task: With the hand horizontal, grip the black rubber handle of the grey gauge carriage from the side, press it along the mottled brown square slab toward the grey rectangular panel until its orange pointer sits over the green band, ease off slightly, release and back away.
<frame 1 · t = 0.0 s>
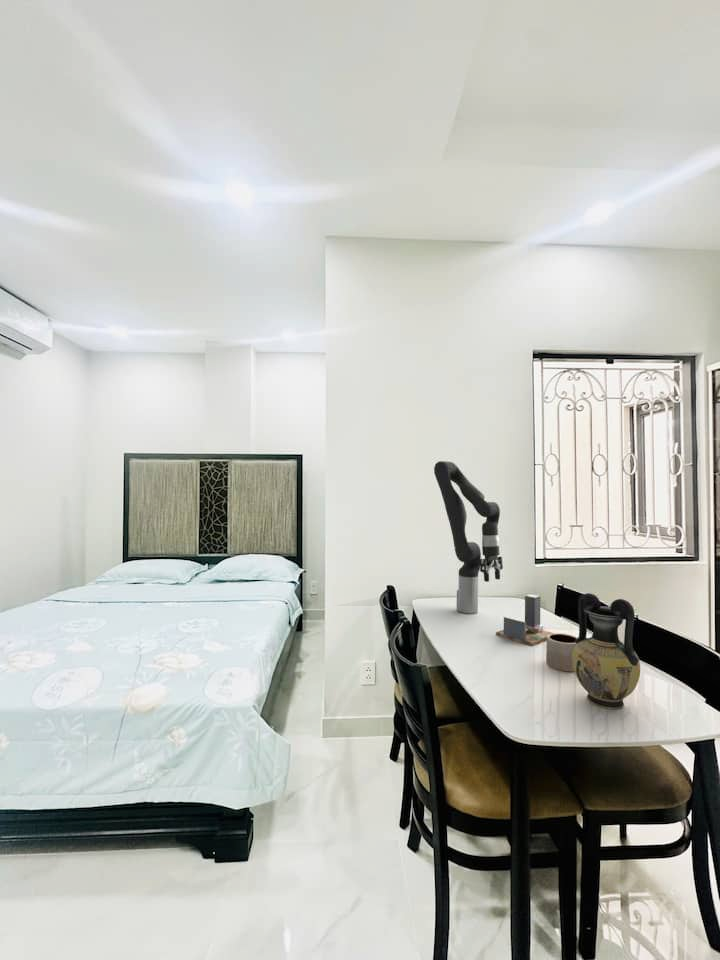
hand: (492, 580, 214), 17 cm above the table, tool pointing down, fingers open, 8 cm apart
grey rectangular panel: (514, 640, 183), resting on mottled brown square slab
planter: (563, 667, 157), on the table
mottled brown square slab: (525, 635, 188), on the table
amphora: (604, 702, 131), on the table
gauge carriage: (530, 614, 189), point 8 cm above the table, slide at 0.0 cm
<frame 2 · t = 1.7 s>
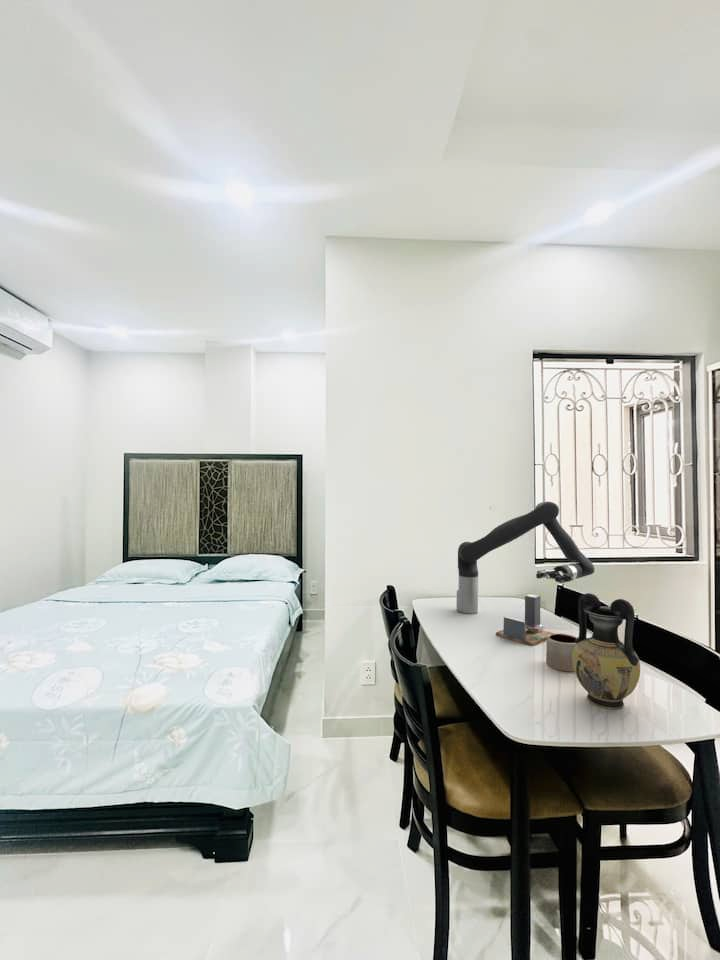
hand: (546, 577, 198), 22 cm above the table, tool horizontal, fingers open, 8 cm apart
nothing on the table moved.
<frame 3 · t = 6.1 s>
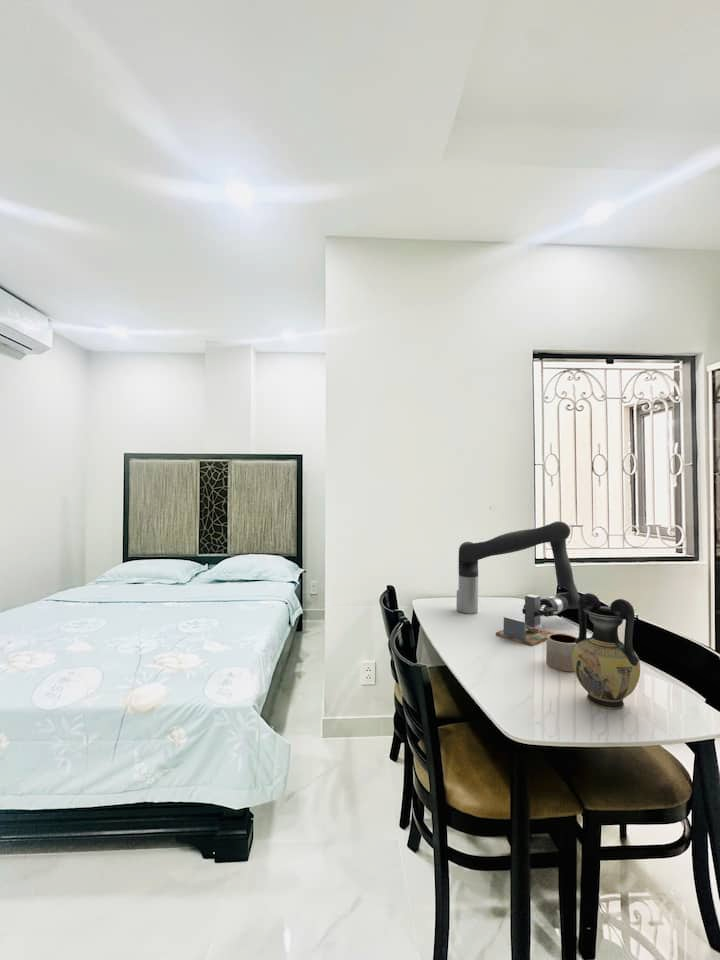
hand: (529, 612, 190), 9 cm above the table, tool horizontal, fingers closed on gauge carriage, 4 cm apart
gauge carriage: (530, 614, 189), point 8 cm above the table, slide at 0.0 cm, touching gripper
everything else where it was.
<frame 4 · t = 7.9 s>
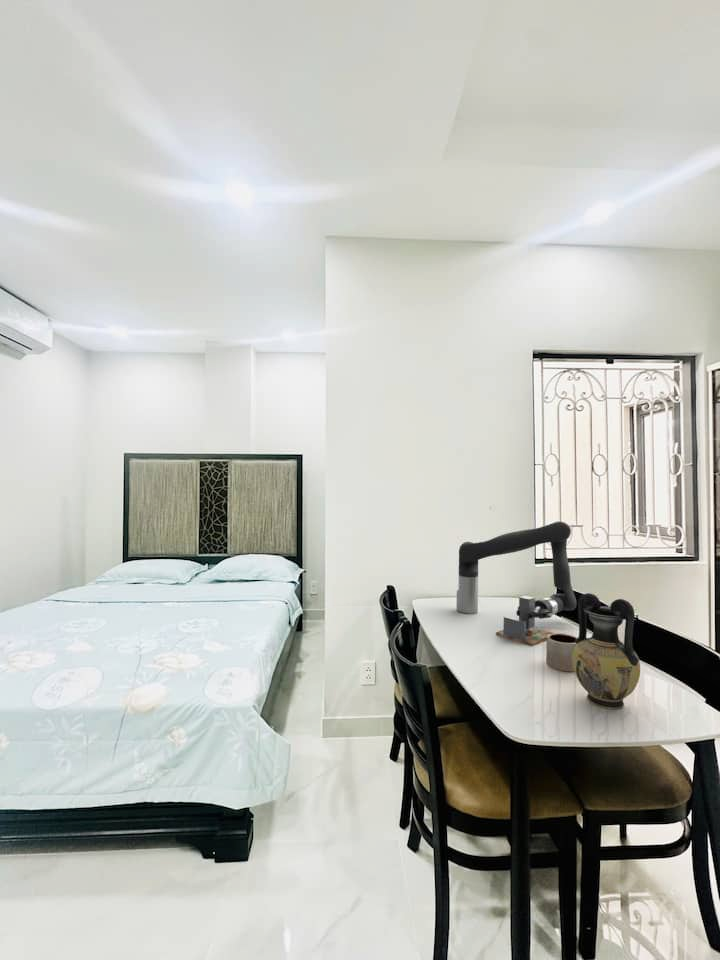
hand: (523, 614, 187), 9 cm above the table, tool horizontal, fingers closed on gauge carriage, 4 cm apart
gauge carriage: (525, 616, 186), point 9 cm above the table, slide at 4.4 cm, touching gripper
everything else where it was.
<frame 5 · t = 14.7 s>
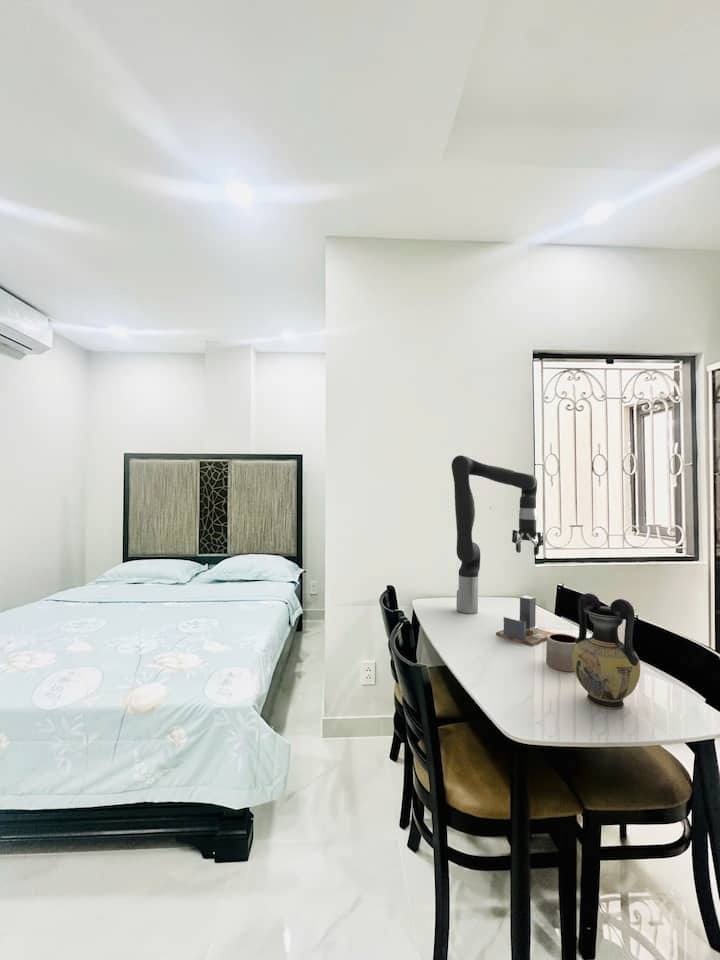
hand: (527, 553, 211), 30 cm above the table, tool pointing down, fingers open, 8 cm apart
gauge carriage: (525, 615, 187), point 8 cm above the table, slide at 3.9 cm
everything else where it was.
at the end: gauge carriage slide at 3.9 cm; the gripper is holding nothing; planter moved 0.3 cm from its start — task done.
